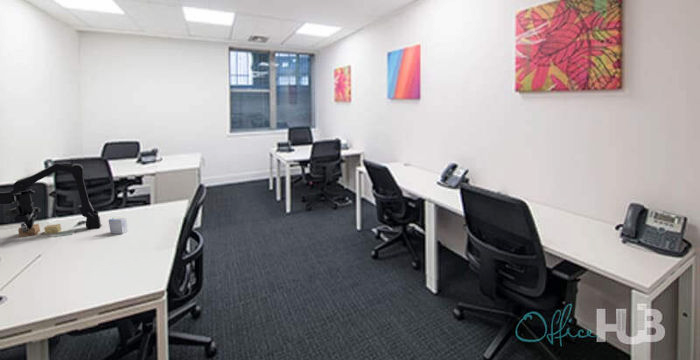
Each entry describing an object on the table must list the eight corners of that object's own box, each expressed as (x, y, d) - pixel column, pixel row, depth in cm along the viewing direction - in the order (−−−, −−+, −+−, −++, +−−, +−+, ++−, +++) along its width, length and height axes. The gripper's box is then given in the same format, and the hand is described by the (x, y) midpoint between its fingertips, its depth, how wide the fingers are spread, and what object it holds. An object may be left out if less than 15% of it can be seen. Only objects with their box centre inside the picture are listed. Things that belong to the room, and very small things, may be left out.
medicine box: (128, 231, 201) (126, 217, 199) (122, 234, 196) (120, 220, 195) (116, 230, 202) (114, 217, 200) (110, 233, 197) (108, 219, 195)
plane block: (40, 231, 200) (38, 223, 199) (35, 234, 194) (34, 227, 193) (24, 232, 197) (23, 225, 196) (19, 236, 191) (18, 229, 190)
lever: (29, 231, 186) (28, 227, 186) (22, 232, 185) (22, 228, 184) (27, 226, 194) (26, 222, 193) (20, 227, 192) (19, 223, 192)
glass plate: (75, 230, 201) (75, 230, 201) (71, 234, 195) (71, 233, 195) (58, 232, 197) (58, 232, 197) (54, 236, 191) (54, 236, 191)
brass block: (61, 230, 202) (60, 224, 201) (58, 232, 198) (57, 226, 197) (48, 231, 200) (47, 225, 199) (45, 234, 196) (44, 227, 195)
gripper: (13, 199, 190) (18, 225, 194) (-3, 208, 174) (3, 236, 177) (38, 197, 195) (43, 222, 198) (25, 206, 179) (30, 233, 182)
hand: (30, 228), depth 189 cm, fingers closed
